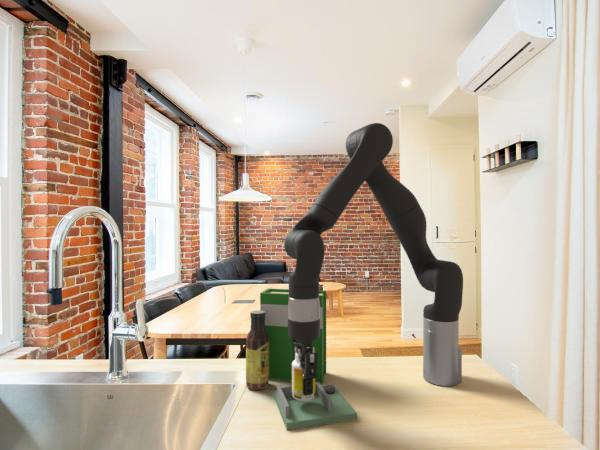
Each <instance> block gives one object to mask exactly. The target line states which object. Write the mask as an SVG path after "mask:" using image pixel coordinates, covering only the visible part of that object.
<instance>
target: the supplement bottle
mask: <svg viewBox="0 0 600 450" xmlns="http://www.w3.org/2000/svg"><path fill="white" fill-rule="evenodd" d="M302 363H303V364H305V362H303V361H302ZM308 373H310V370H309V371H308ZM291 385H292V396H293V398H294V399H296V400H298V401H310V400H312V399H314V397H315V395H316V378H315V379H313V394H311V395H304V394H303V378H302V368H300V367H299V358H298V355H297V352H296V353H295V360H294V361H293V362H292V381H291Z"/></svg>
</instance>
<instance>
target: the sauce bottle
mask: <svg viewBox="0 0 600 450" xmlns="http://www.w3.org/2000/svg"><path fill="white" fill-rule="evenodd" d="M249 313H250V330H249V331H248V333H247V336H246V338H245V339H246V346H245V381H246V382H245V383H246V385H245V386H246V388H248V389H250V390H254V391H259V390H264V389H265V388H268V386H269V380H270V379H269V338H268V335H267V333H266V330H265V311H261V310H259V309H258V310H252V311H250V312H249Z"/></svg>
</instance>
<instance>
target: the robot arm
mask: <svg viewBox="0 0 600 450" xmlns="http://www.w3.org/2000/svg"><path fill="white" fill-rule="evenodd" d="M393 137H394V136H393V134H392V132H391V130H390V128H388V127H387V126H386V125H385V124H383V123H380V122H379V123H378V122H374V123H370V124H367V125H365V126H362V127H360V128H358V129H356V130H353V131H352V132H350V133H349V134H348V135H347V138H346V141H345V150H346V154H347V156H348V158H349V159H350V160H348V162H347V163H346V165H345V166H343V168H342V169H341V170H340V171H339V172H338V173H337V174H336V175H335V176H334V177H333V178H332V179H331V180H330V181H329V182H328V184H326V185H325V187H324V188H323V189H322V191H321V192H320V193H319V194H318V196H317V197H316V199H315V201H314V202H313V203H312V205H311V207H310V209H308V211H307V212H306V213H305V214H304V215H303V216H302V217H301V218H300V219H299V220H298V221H297V223H295V224H294V226H293V227H291V229H290V230H289V231H288V233H287V235H286V238H285V240H284V244H283V245H284V246H283V247H284V251H285V253H286V255H287V256H288V257H290V258H291V259H295V261H296V262H295V269H294V271H292V272H291V273H290V274H289V278H288V289H289V301H288V336H289V337H290V338H291V339H292V345H293V361H294V360H295V353H296V352H297V355H298V358H299V367H300V368H302V378H303V394H304V395H311V394H313V379H315V378H316V377H317V359H318V354H317V353H314V352H315V350H314V345H313V344H312V341H313V340H314V339H317V338H318V337H319V336H320V302H319V291H320V283H319V281H320V276H321V272H322V268H323V262H324V258H325V243H324V239H323V238H322V236H321V235H322V234H323V233H324V232H327V231H329V230H331V229H333V227H334V226H335V224H336V223H337V222H338V220H339V219H340V217H341V215H342V214H343V213H344V212H345V209H346V208H347V206H348V205H349V203H351V200H352V199H353V197H354V196H355V195H356V193H357V191H358V190H359V189H360V188H361V186H362V185H363V184H364V183H365V182H366V184H367V186H368V187H369V189H370V191H371V192H372V194H373V196H374V198H375V200H376V201H377V203H378V205H379V206H380V209H381V211H382V213H383V214H384V216H385V218H386V219H387V221H388V224H389V225H390V227H391V229H392V231H393V232H394V234H395V236H396V237H397V239H398V241H399V243H400V244H401V247H402V248H403V251H404V252H405V254H406V256H407V258H408V260H409V262H410V265H411V268H412V270H413V272H414V274H415V277H416V279H417V281H418V283H419V285H420V286H421V287H422V288H423V289H425V290H426V291H427V292H432V293H434V298H433V299H434V300H433V303H430V304H426V305H425V306H424V307H423V311H422V312H423V314H422V315H423V316H422V317H423V318H422V320H423V323H422V324H423V325H422V326H423V328H422V329H423V330H422V332H423V335H422V336H423V339H422V340H423V341H422V342H423V343H422V345H423V346H422V347H423V348H422V349H423V350H422V351H423V352H422V354H423V355H422V356H423V357H422V361H423V362H422V366H423V367H422V376H423V379H424V380H425V381H426V382H428V383H430V384H433V385H437V386H440V387H441V386H442V387H452V386H455V385H457V384H458V383H461V382H462V379H463V377H462V375H463V372H462V371H463V365H462V364H463V362H462V358H463V351H462V350H463V348H462V346H460V345H459V343H460V341H459V340H460V339H459V336H460V335H459V332H460V331H459V330H460V329H459V324H460V323H459V321H460V319H459V318H460V316H459V315H460V312H461V310H462V305H463V292H464V275H463V271H462V268H461V267H460V265H459V264H457V263H456V262H453V261H449V260H442V259H438V258H437V257H436V256H435V255H434V253H433V252H432V250H431V247H430V246H429V244H428V241H427V218H426V215H425V212H424V210H423V209H422V206H421V205H420V203H419V200H418V199H417V198H416V196H415V195H414V193H413V192H412V191H411V190H410V189H409V188H407V187H406V186H405V185H404V184H403V183H401V181H399V180H398V179H396V177H395V176H393V175H392V174H391V172H390V171H389V170H388V169H387V167H386V166H385V164H384V162H383V161H384V160H385V159H386V158H387V156H388V155H389V154H390V152H391V150H392V147H393V144H394V143H393V142H394V139H393ZM302 361H303V362H305V364H303V363H302ZM309 370H310V373H308V371H309Z"/></svg>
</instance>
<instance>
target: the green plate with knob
mask: <svg viewBox="0 0 600 450" xmlns="http://www.w3.org/2000/svg"><path fill="white" fill-rule="evenodd" d="M273 399H274V401H275V404H276V406H277V408H278V409H277V410H278V411H279V414H280V416H281V419H282V422H283V424H284V426H285V428H286V431H289V430H291V431H292V430H296V429H303V428H309V427H317V426H323V425H329V424H330V425H331V424H336V423H337V424H338V423H344V422H352V421H357V420H358V417H357V416H358V412H357V411H356V410H355V409H354V408H353V406H352V405H351V404H350V403H349V401H348V400H347V399H346V398H345V396H344V395H343V394H342V393H341V391H340V390H339V389H338V387H337V386H336V385H335V384H333V383H332V384H320V383H319V382H316V395H315V397H314V399H312V400H310V401H298V400H296V399H294V398H293V396H292V384H291V385H282V386H281V385H280V386H276V390H274V391H273Z"/></svg>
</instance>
